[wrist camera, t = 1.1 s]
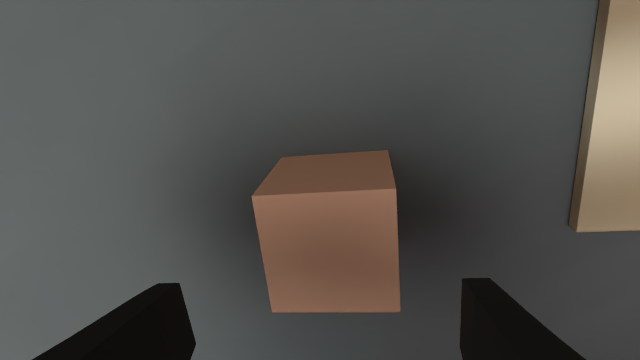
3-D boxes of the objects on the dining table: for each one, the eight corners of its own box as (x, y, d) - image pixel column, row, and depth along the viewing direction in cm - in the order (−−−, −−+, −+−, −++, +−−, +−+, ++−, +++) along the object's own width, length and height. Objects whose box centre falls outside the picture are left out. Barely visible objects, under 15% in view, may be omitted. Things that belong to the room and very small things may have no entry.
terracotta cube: (391, 244, 16) (400, 312, 12) (295, 247, 17) (271, 312, 13) (388, 149, 15) (396, 188, 11) (282, 156, 16) (251, 196, 11)
